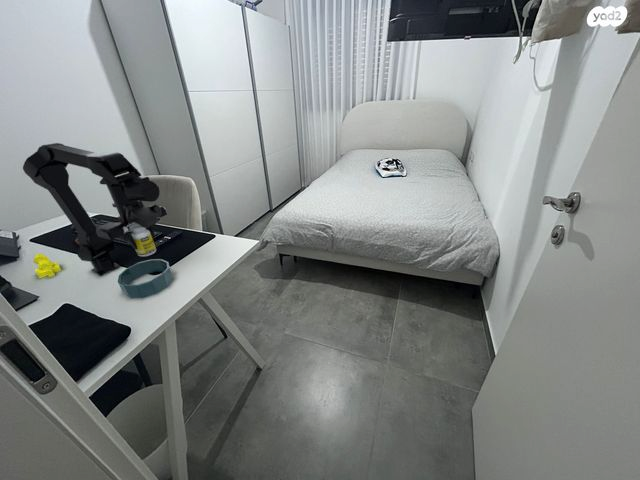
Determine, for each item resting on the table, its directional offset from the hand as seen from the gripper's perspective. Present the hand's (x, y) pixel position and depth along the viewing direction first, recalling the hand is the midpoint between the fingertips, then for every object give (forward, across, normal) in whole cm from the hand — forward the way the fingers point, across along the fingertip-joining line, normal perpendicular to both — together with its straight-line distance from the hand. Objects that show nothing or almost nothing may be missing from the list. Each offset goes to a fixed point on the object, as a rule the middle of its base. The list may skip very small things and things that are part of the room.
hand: (144, 244), depth 83 cm
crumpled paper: (+13, -11, +39) cm, 43 cm away
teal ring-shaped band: (+13, -4, -1) cm, 13 cm away
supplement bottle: (+3, 0, 0) cm, 3 cm away
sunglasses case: (+13, +14, +50) cm, 54 cm away
